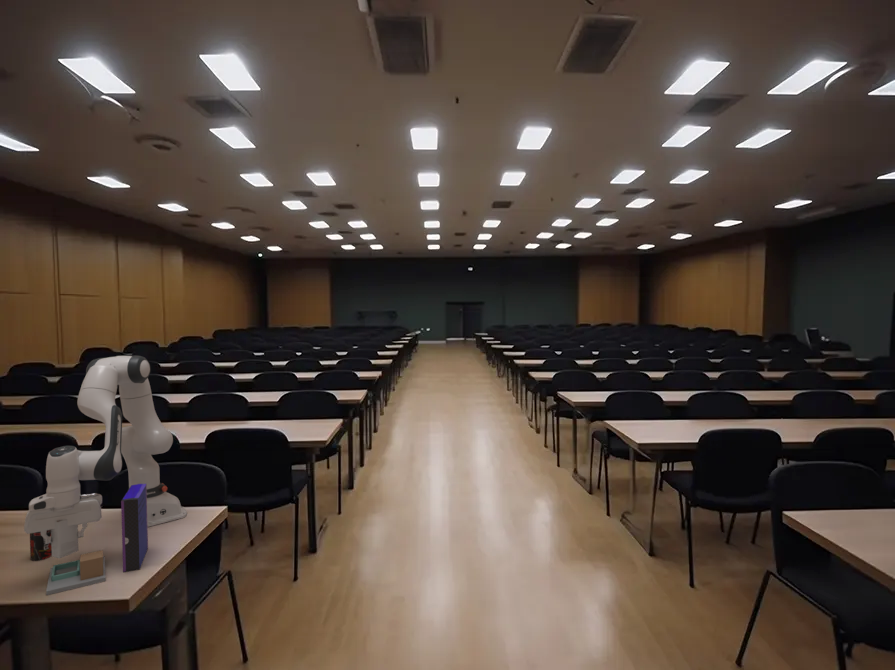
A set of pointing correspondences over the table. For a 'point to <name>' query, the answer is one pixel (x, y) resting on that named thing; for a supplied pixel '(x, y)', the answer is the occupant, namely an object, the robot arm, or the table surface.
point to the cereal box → (134, 527)
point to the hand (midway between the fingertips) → (64, 540)
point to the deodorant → (39, 546)
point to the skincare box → (64, 539)
